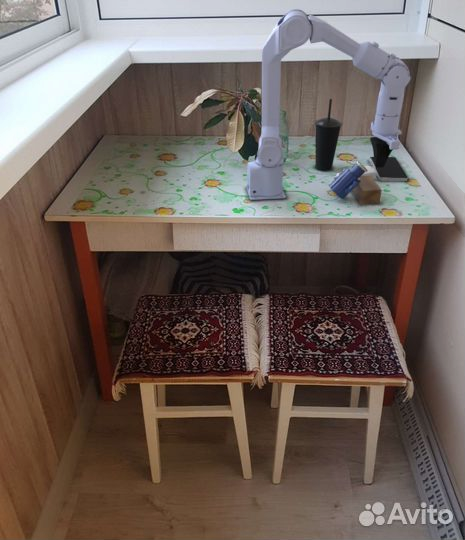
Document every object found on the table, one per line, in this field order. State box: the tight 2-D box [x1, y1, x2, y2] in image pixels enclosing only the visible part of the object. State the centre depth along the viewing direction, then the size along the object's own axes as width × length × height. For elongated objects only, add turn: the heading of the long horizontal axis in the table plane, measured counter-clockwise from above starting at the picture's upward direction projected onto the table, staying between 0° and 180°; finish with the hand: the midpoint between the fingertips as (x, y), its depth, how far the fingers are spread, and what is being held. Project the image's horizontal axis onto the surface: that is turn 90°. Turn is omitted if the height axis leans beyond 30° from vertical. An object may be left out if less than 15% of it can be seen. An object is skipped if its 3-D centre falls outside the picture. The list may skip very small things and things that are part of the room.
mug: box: [328, 160, 368, 200], centre depth 129 cm, size 9×7×10 cm
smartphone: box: [368, 156, 409, 182], centre depth 147 cm, size 8×1×15 cm
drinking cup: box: [314, 98, 343, 172], centre depth 144 cm, size 8×8×20 cm
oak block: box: [350, 176, 382, 206], centre depth 132 cm, size 5×9×4 cm, turn 6°
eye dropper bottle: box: [332, 164, 377, 181], centre depth 141 cm, size 4×6×12 cm
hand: (379, 166), depth 129 cm, fingers closed
